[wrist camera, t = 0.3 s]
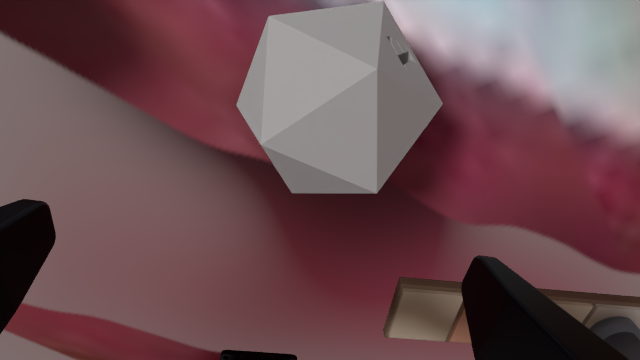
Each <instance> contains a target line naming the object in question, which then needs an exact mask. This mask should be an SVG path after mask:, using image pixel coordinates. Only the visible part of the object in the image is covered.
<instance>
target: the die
mask: <svg viewBox="0 0 640 360" xmlns="http://www.w3.org/2000/svg"><path fill="white" fill-rule="evenodd" d="M442 105H443V103H442V101H441V100H440V98H439V96H438V94H437V93H436V91H435V89H434V87H433V86H432V84H431V82H430V81H429V79H428V77H427V75H426V74H425V72H424V70H423V68H422V67H421V65H420V63H419V61H418V60H417V58H416V56H415V55H414V53H413V51H412V49H411V48H410V46H409V44H408V42H407V41H406V39H405V37H404V35H403V34H402V32H401V30H400V29H399V27H398V25H397V23H396V22H395V20H394V18H393V16H392V15H391V13H390V11H389V9H388V8H387V6H386V4H385V3H384V1H382V2H374V3H366V4H358V5H351V6H343V7H335V8H328V9H320V10H312V11H304V12H297V13H289V14H281V15H273V16H269V17H268V19H267V22H266V25H265V28H264V30H263V33H262V36H261V39H260V41H259V44H258V47H257V50H256V53H255V55H254V58H253V61H252V64H251V66H250V69H249V72H248V75H247V77H246V80H245V83H244V86H243V88H242V91H241V94H240V97H239V99H238V102H237V105H236V106H237V107H238V109H239V110H240V112H241V114H242V115H243V117H244V118H245V120H246V122H247V123H248V125H249V127H250V128H251V130H252V131H253V133H254V135H255V136H256V138H257V139H258V141H259V143H260V144H261V146H262V147H263V149H264V150H265V152H266V154H267V155H268V157H269V158H270V160H271V161H272V163H273V164H274V166H275V168H276V169H277V171H278V172H279V174H280V175H281V177H282V178H283V180H284V182H285V183H286V185H287V186H288V187H289V189H290V191H291V192H292V193H375V194H376V193H378V191H379V190H380V188H381V187H382V186H383V185H384V183H385V182H386V180H387V179H388V178H389V176H390V175H391V174H392V172H393V171H394V170H395V168H396V167H397V166H398V164H399V163H400V162H401V160H402V159H403V157H404V156H405V155H406V153H407V152H408V151H409V149H410V148H411V147H412V145H413V144H414V143H415V141H416V140H417V138H418V137H419V136H420V134H421V133H422V132H423V130H424V129H425V128H426V126H427V125H428V124H429V122H430V121H431V120H432V118H433V117H434V115H435V114H436V113H437V111H438V110H439V109H440V107H441V106H442Z"/></svg>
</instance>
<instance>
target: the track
mask: <svg viewBox="0 0 640 360" xmlns="http://www.w3.org/2000/svg"><path fill="white" fill-rule="evenodd" d="M461 285H462V282H452V281H441V280H429V279H416V278H405V277H400V278H399V281H398V284H397V287H396V290H395V294H394V297H393V300H392V304H391V307H390V310H389V313H388V316H387V320H386V323H385V326H384V329H383V331H384V336H385V337H390V338H403V339H417V340H431V341H444V342H459V343H471V338H470V333H469V328H468V323H467V318H466V313H465V308H464V303H463V298H462V293H461ZM536 289H537V288H536ZM537 290H539V291H540V292H541V293H543V294H544V295H545V296H547V297H548V298H549V299H551V300H552V301H553V302H554V303H556V304H557V305H558V306H560V307H561V308H562V309H564V310H565V311H566V312H568V313H569V314H570V315H572V316H573V317H574V318H575V319H577V320H578V321H579V322H581V323H582V324H583V325H585V326H586V327H587V328H589V329H590V328H591V327H592V326H593V325H594V324H596V323H597V322H599V321H601V320H603V319H606V318H610V317H616V316H622V317H627V318H629V319H631V320H632V321H633V322H634V323H635V324H636V326H637V327H638V328H639V329H640V297H633V296H620V295H609V294H597V293H585V292H573V291H560V290H549V289H537Z"/></svg>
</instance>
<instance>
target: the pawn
mask: <svg viewBox="0 0 640 360" xmlns="http://www.w3.org/2000/svg"><path fill="white" fill-rule="evenodd" d="M590 330H591V331H593V332H594V333H595V334H596V335H598V336H599V337H600V338H602V339H603V340H604V341H606V342H607V343H608V344H610V345H611V346H612V347H614V348H615V349H616V350H618V351H619V352H620V353H621V354H623V355H624V356H625V357H627V358H628V359H629V360H640V329H639V328H638V327H637V326H636V324H635V323H634V322H633V321H632V320H631V319H629V318H627V317H622V316H616V317H610V318H606V319H603V320H601V321H599V322H597V323H596V324H594V325H593V326H592V327H591V328H590Z"/></svg>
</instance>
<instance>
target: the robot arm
mask: <svg viewBox="0 0 640 360" xmlns="http://www.w3.org/2000/svg"><path fill="white" fill-rule="evenodd" d="M55 238H56V235H55V229H54V224H53V220H52V216H51V212H50V208H49V206H48V205H47V203H45V202H43V201H36V200H28V199H23V200H19V201H16V202H13V203H10V204H7V205H4V206H1V207H0V334H1V332H2V331H3V329H4V328H5V327H6V325H7V324H8V322H9V321H10V319H11V318H12V316H13V315H14V313H15V312H16V310H17V309H18V307H19V305H20V304H21V302H22V301H23V299H24V297H25V295H26V293H27V292H28V290H29V288H30V286H31V285H32V283H33V281H34V279H35V277H36V276H37V274H38V272H39V270H40V269H41V267H42V265H43V263H44V262H45V260H46V258H47V256H48V254H49V253H50V251H51V249H52V247H53V245H54V243H55ZM461 293H462V298H463V303H464V308H465V313H466V318H467V323H468V328H469V333H470V338H471V343H472V348H473V352H474V357H475V360H629V359H628V358H627V357H625V356H624V355H623V354H621V353H620V352H619V351H618V350H616V349H615V348H614V347H612V346H611V345H610V344H608V343H607V342H606V341H604V340H603V339H602V338H600V337H599V336H598V335H596V334H595V333H594V332H593V331H591V330H590V329H589V328H587V327H586V326H585V325H583V324H582V323H581V322H579V321H578V320H577V319H575V318H574V317H573V316H572V315H570V314H569V313H568V312H566V311H565V310H564V309H562V308H561V307H560V306H558V305H557V304H556V303H554V302H553V301H552V300H551V299H549V298H548V297H547V296H545V295H544V294H543V293H541V292H540V291H539V290H537V289H536V288H535V287H533V286H532V285H531V284H530V283H528V282H527V281H526V280H524V279H523V278H522V277H520V276H519V275H518V274H516V273H515V272H514V271H512V270H511V269H510V268H508V267H507V266H506V265H505V264H503V263H502V262H501V261H499V260H498V259H497V258H494V257H488V256H476V257H475V258H474V259H473V261H472V262H471V265H470V267H469V269H468V271H467V273H466V275H465V277H464V279H463V281H462V285H461ZM220 360H297V357H296V356H295V355H292V354H279V353H264V352H250V351H235V350H223V351H222V352H221V356H220Z"/></svg>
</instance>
